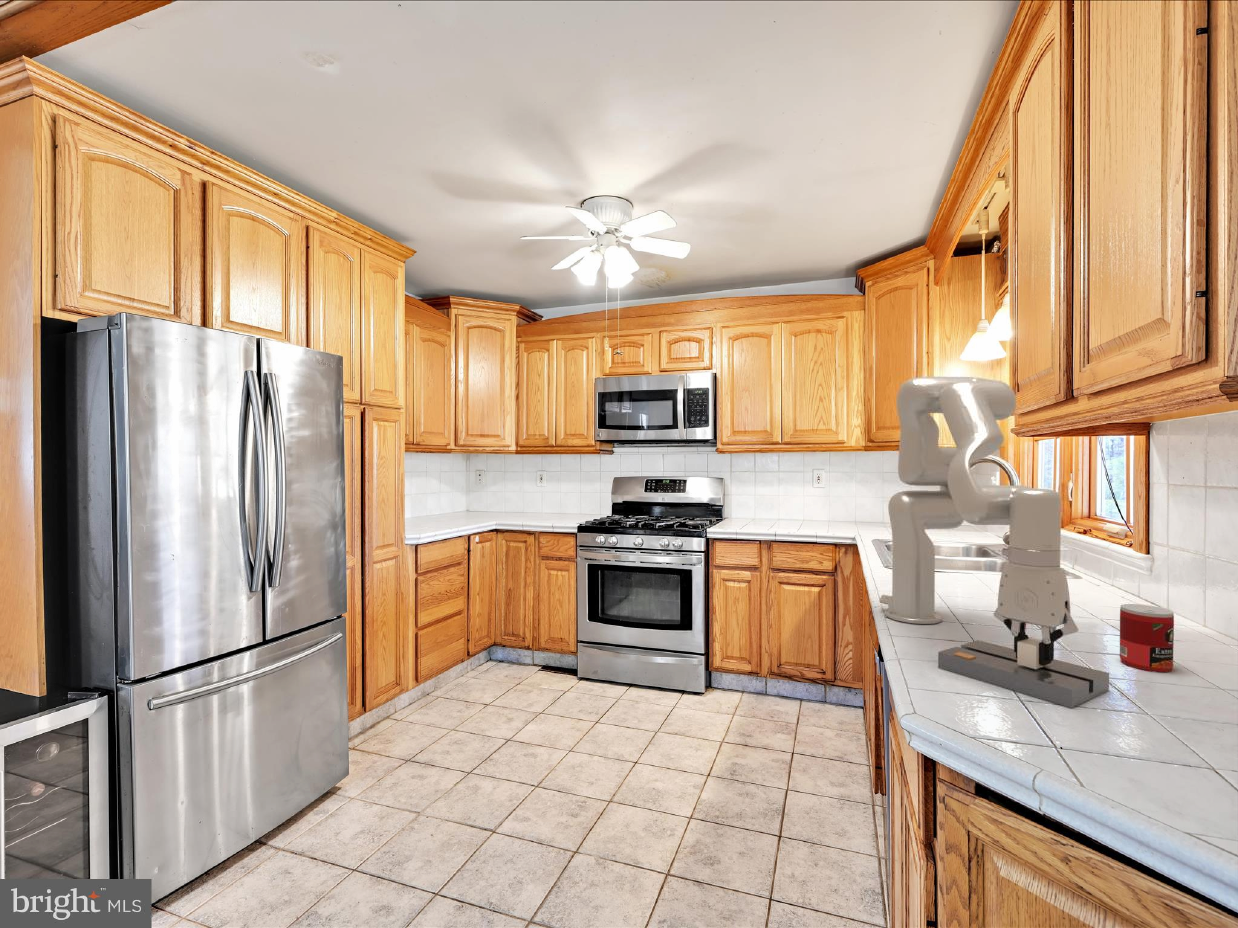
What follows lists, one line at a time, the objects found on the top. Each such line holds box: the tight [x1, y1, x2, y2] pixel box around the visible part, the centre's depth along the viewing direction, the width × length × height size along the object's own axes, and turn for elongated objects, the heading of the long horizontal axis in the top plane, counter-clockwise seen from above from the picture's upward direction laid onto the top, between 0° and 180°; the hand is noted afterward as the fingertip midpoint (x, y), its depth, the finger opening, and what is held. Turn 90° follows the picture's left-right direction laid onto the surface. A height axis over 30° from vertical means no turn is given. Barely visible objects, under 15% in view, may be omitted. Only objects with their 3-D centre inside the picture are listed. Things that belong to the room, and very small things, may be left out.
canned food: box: [1119, 603, 1175, 673], centre depth 117 cm, size 8×8×11 cm
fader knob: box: [1017, 637, 1046, 669], centre depth 109 cm, size 3×5×6 cm, turn 122°
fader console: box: [937, 639, 1110, 709], centre depth 111 cm, size 22×14×3 cm, turn 32°
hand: (1033, 659), depth 109 cm, fingers closed on fader knob, 3 cm apart
